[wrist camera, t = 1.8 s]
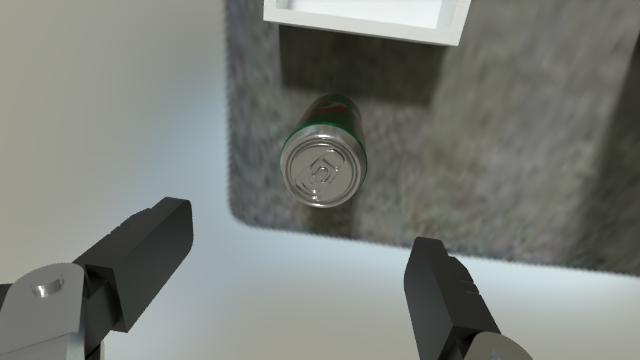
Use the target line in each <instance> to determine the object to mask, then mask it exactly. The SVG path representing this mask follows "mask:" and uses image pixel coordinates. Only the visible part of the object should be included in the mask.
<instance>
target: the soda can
mask: <svg viewBox="0 0 640 360" xmlns="http://www.w3.org/2000/svg"><path fill="white" fill-rule="evenodd" d="M279 164H280V171H281V174H282V177H283V179H284V182H285V185H286V187H287V188H288V190H289V191H290V193H291V194H292V195H293V196H294V197H295V198H296V199H298V200H299V201H301V202H302V203H304V204H306V205H309V206H312V207H318V208H328V207H334V206H337V205H339V204H342V203H343V202H345V201H347V200H348V199H349V198H350V197H351V196H352V195H353V194H355V193H356V192H357V191H358V189H359V188H360V187H361V185H362V183H363V182H364V179H365V177H366V173H367V156H366V149H365V141H364V134H363V127H362V119H361V115H360V112H359V110H358V108H357V106H356V105H355V104H354V103H353V102H352V101H351V100H350V99H348V98H346V97H344V96H342V95H337V94H329V95H325V96H322V97H320V98H318V99H317V100H315V101H314V102H313V103H312V104H311V105H310V107H309V108H308V110H307V111H306V113H305V114H304V115H303V117H302V118H301V120H300V121H299V123H298V124H297V126H296V127H295V129H294V130H293V131H292V133H291V134H290V136H289V137H288V139H287V140H286V142H285V143H284V145H283V148H282V150H281V154H280V163H279Z"/></svg>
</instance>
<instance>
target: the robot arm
mask: <svg viewBox="0 0 640 360" xmlns="http://www.w3.org/2000/svg"><path fill="white" fill-rule="evenodd" d="M192 243H193V222H192V208H191V203H190V201H189V200H184V199H178V198H171V197H165V198H163V199H162V200H161V201H160V202H159V203H157V204H156V205H155V206H154V207H152V208H151V209H150V208H147V209H145V210H143V211H140V212H138V213H136V214H134V215H132V216H130V217H129V218H128V219H127V220H125V221H124V222H123V223H122V224H121V225H120V226H118V227H116V228H115V229H114V230H113V231H111V233H110V234H108V235H106V236H105V237H104V238H103V239H101V240H100V241H99V242H97V243H96V244H95V245H93V246H92V247H91V248H90V249H88V250H87V251H86V252H85V253H83V254H82V255H81V256H79V257H78V258H77V259H76V260H74V261H73V262H72V263H57V264H51V265H47V266H44V267H41V268H38V269H36V270H33V271H31V272H29V273H27V274H26V275H24V276H22V277H21V278H19V279H18V280H17V281H16V282H15V283H12V284H0V360H104V341H103V339H104V337H105V336H106V335H107V334H108V333H109V331H110V330H113V331H119V332H125V333H128V331H129V330H130V329H131V327H132V326H133V325H134V323H135V322H136V321H137V320H138V318H139V317H140V315H141V314H142V313H143V312H144V311H145V309H146V307H148V305H149V304H150V303H151V301H152V300H153V299H154V298H155V296H156V295H157V294H158V292H159V291H160V290H161V288H162V287H163V286H164V285H165V283H166V282H167V281H168V279H169V278H170V276H171V275H172V274H173V273H174V272H175V270H176V269H177V268H178V266H179V265H180V264H181V262H182V261H183V260H184V259H185V257H186V256H187V255H188V253H189V251H190V250H191V247H192ZM473 282H474V281H473V279H472V277H471V276H470V274H469V272H468V270H467V268H466V267H465V266H464V265H463V264H462V263H461V262H460V261H459V260H458V259H456V258H455V257H451V256H448V253H447V251H446V249H445V247H444V245H443V243H442V241H441V240H437V239H431V238H424V237H417V238H416V239H415V242H414V245H413V248H412V251H411V254H410V257H409V261H408V263H407V267H406V270H405V274H404V291H405V295H406V299H407V304H408V308H409V313H410V317H411V321H412V326H413V330H414V335H415V339H416V343H417V348H418V352H419V357H420V360H533V359H532V357H531V356H530V355H529V354H528V353H527V352H526V351H525V350H524V349H523V348H522V347H521V346H519V345H518V344H517V343H515V342H514V341H513V340H511V339H509V338H507V337H505V336H503V335H501V332H500V330H499V329H498V327H497V325H496V323H495V321H494V319H493V317H492V315H491V314H490V312H489V310H488V308H487V306H486V304H485V302H484V300H483V298H482V296H481V295H479V291H478V289H477V287H476V285H475V284H474V283H473Z"/></svg>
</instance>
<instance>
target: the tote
mask: <svg viewBox="0 0 640 360" xmlns="http://www.w3.org/2000/svg"><path fill="white" fill-rule="evenodd" d="M470 2H471V0H264V20H265V21H268V22H272V23H275V24H278V25H286V26H293V27H301V28H309V29H316V30H324V31H331V32H339V33H347V34H354V35H362V36H369V37H377V38H384V39H392V40H400V41H407V42H415V43H422V44H430V45H438V46H458V43H459V40H460V37H461V33H462V30H463V26H464V23H465V19H466V16H467V12H468V9H469V6H470Z"/></svg>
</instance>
